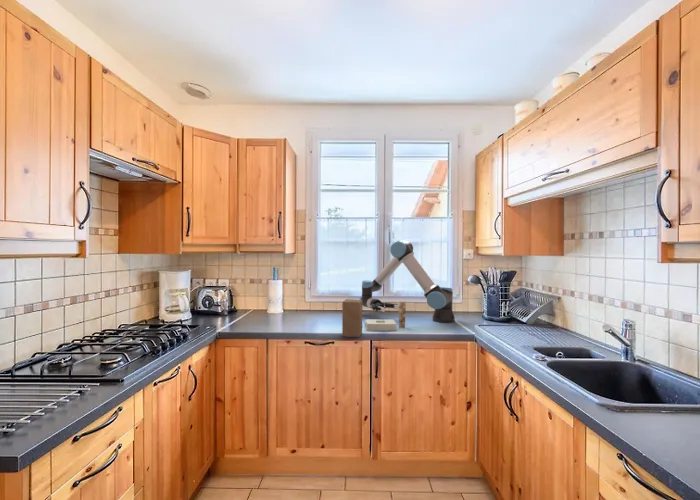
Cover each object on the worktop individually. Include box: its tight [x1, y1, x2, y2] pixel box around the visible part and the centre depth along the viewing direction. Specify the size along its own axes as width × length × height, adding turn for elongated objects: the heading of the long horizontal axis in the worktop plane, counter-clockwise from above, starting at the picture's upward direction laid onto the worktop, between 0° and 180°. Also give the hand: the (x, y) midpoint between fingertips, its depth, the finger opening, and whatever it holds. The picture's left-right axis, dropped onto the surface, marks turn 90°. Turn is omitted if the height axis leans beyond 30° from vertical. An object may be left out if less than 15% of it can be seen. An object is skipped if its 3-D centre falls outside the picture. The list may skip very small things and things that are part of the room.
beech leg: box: [398, 300, 407, 329], centre depth 232 cm, size 4×4×16 cm
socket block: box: [365, 318, 397, 332], centre depth 229 cm, size 18×13×4 cm
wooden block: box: [341, 298, 363, 338], centre depth 212 cm, size 10×10×20 cm
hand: (392, 309), depth 240 cm, fingers open, 13 cm apart
